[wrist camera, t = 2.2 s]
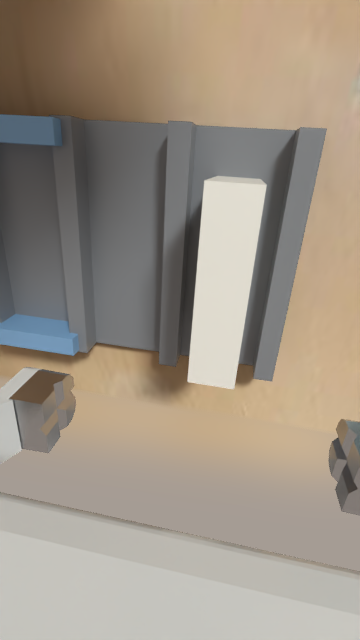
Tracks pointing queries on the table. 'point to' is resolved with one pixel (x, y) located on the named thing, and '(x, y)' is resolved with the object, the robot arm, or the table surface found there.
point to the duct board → (139, 231)
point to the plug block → (224, 276)
